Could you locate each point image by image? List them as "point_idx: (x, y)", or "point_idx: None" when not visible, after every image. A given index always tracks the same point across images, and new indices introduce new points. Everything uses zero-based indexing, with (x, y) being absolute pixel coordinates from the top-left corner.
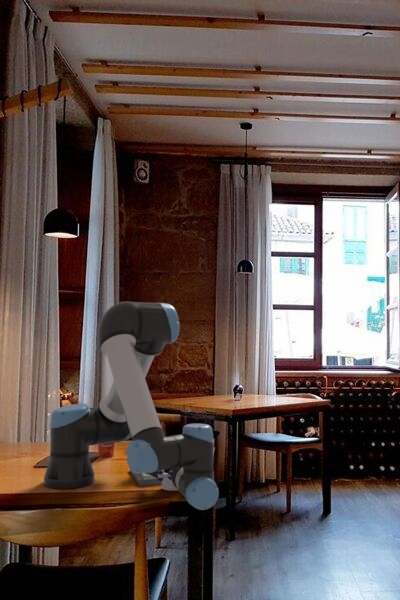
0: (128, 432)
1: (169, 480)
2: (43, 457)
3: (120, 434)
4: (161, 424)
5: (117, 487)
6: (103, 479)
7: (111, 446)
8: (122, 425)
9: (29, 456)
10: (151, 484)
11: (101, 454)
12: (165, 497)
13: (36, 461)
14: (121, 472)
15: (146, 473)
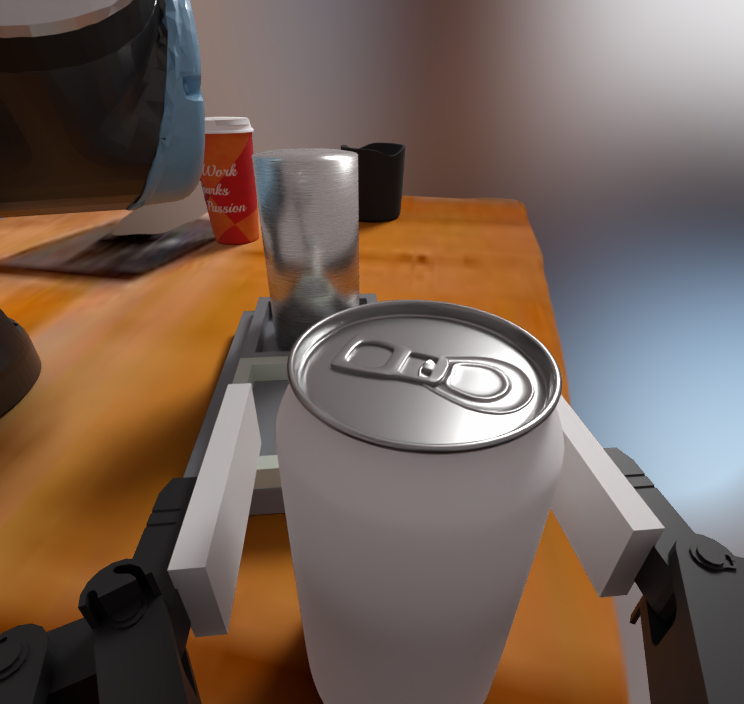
0: (147, 151)
1: (357, 702)
2: (76, 230)
3: (84, 161)
4: (403, 152)
5: (36, 526)
6: (78, 390)
7: (242, 212)
8: (23, 79)
9: (50, 224)
10: (267, 512)
11: (217, 234)
12: None
13: (32, 244)
14: (208, 334)
15: (275, 391)
